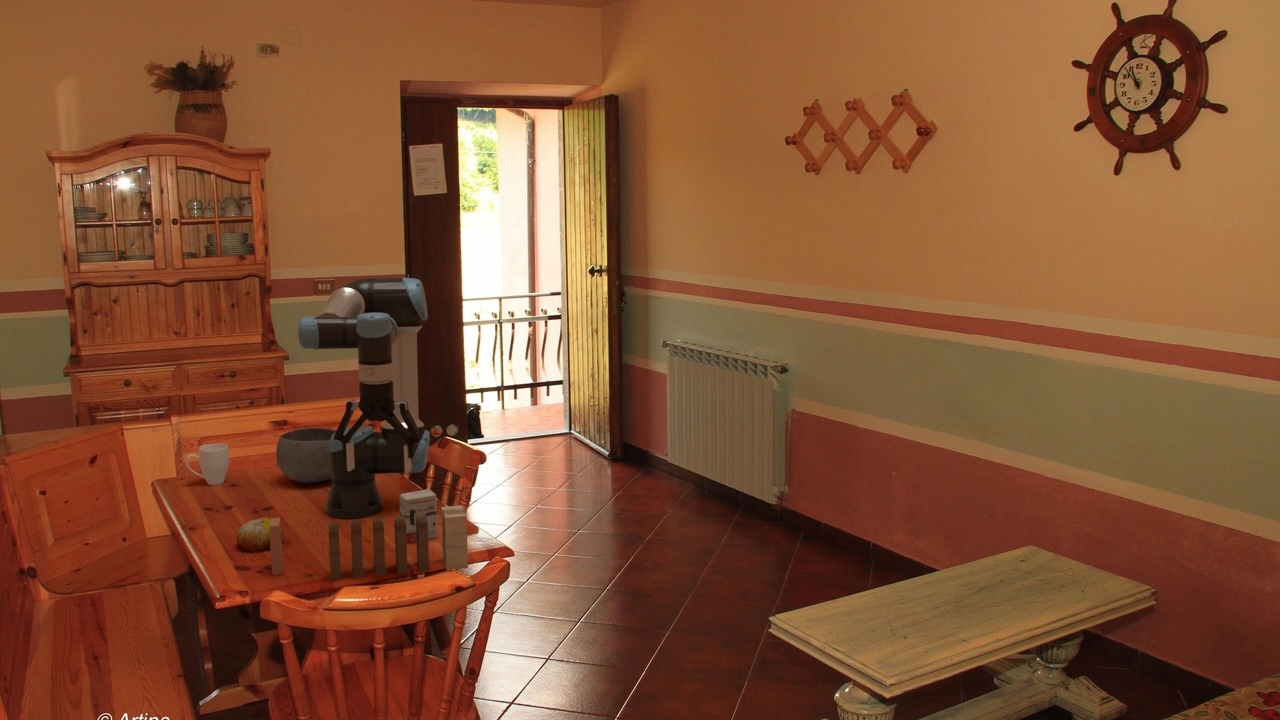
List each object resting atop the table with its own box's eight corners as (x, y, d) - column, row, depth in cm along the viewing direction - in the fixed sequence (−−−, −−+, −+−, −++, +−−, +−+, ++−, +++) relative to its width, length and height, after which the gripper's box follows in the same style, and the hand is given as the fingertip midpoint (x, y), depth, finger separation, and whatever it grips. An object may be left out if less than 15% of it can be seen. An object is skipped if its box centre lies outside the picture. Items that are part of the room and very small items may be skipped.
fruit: (245, 535, 255) (252, 507, 254) (284, 547, 255) (291, 519, 254) (226, 550, 244) (234, 520, 243) (266, 563, 244) (274, 533, 243)
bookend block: (442, 558, 242) (441, 507, 240) (463, 555, 244) (462, 505, 241) (446, 570, 235) (445, 517, 232) (467, 567, 236) (466, 515, 234)
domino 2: (330, 571, 233) (328, 522, 231) (340, 570, 234) (338, 521, 232) (330, 581, 228) (328, 531, 225) (340, 579, 228) (338, 530, 226)
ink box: (406, 543, 251) (405, 499, 249) (399, 537, 256) (398, 493, 253) (438, 537, 256) (437, 493, 254) (431, 531, 260) (430, 488, 258)
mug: (227, 477, 305) (224, 441, 303) (233, 484, 299) (230, 447, 297) (185, 483, 299) (182, 447, 297) (190, 491, 292) (187, 453, 290)
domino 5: (395, 564, 238) (394, 516, 236) (405, 563, 238) (403, 515, 236) (397, 573, 232) (396, 524, 230) (407, 572, 233) (405, 524, 231)
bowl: (336, 491, 293) (334, 442, 290) (267, 490, 293) (264, 441, 291) (356, 471, 313) (354, 425, 311) (292, 470, 313) (290, 424, 311)
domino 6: (417, 562, 239) (415, 514, 237) (426, 561, 240) (425, 514, 238) (419, 571, 234) (418, 522, 232) (429, 570, 234) (427, 522, 232)
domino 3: (352, 569, 235) (350, 520, 233) (362, 568, 235) (360, 519, 233) (353, 578, 229) (351, 529, 227) (363, 577, 230) (361, 528, 228)
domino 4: (374, 566, 236) (372, 518, 234) (383, 565, 237) (382, 517, 235) (375, 576, 231) (374, 527, 228) (385, 575, 231) (383, 526, 229)
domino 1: (273, 566, 236) (270, 518, 234) (282, 565, 236) (280, 517, 234) (272, 575, 230) (269, 526, 228) (282, 574, 231) (279, 525, 229)
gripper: (316, 382, 224) (320, 473, 227) (424, 385, 222) (427, 476, 225) (329, 376, 231) (333, 464, 235) (434, 379, 229) (436, 467, 233)
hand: (379, 470), depth 230 cm, fingers open, 13 cm apart
